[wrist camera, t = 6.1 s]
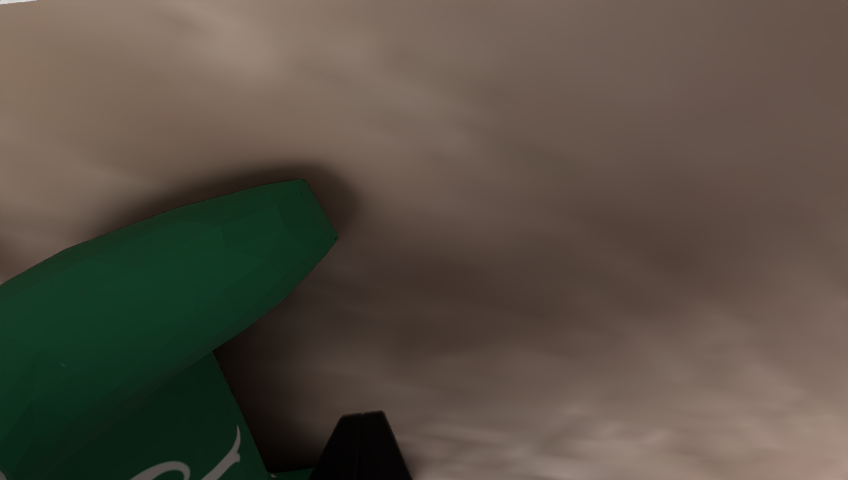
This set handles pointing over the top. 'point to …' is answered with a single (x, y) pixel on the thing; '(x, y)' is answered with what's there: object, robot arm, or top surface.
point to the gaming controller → (149, 340)
